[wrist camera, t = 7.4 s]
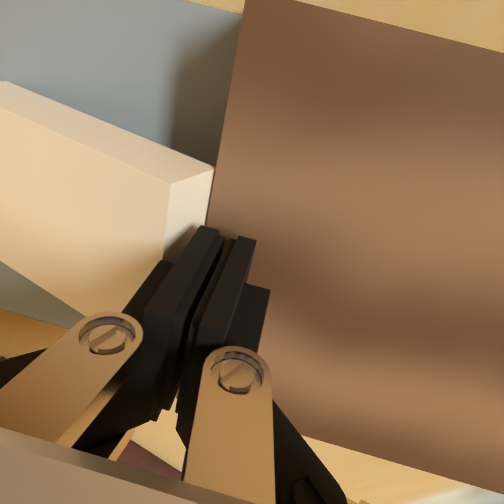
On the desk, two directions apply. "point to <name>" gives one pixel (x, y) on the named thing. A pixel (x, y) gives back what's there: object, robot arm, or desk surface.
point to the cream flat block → (91, 202)
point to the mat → (120, 84)
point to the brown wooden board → (373, 232)
